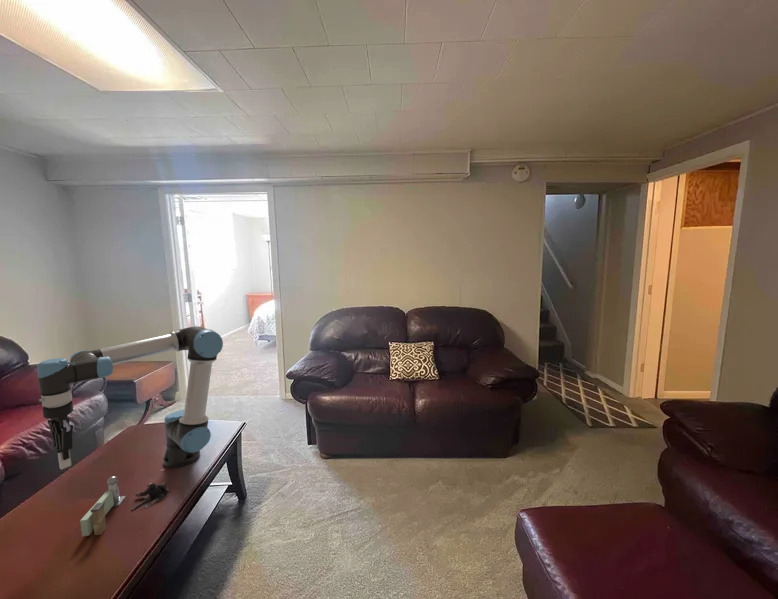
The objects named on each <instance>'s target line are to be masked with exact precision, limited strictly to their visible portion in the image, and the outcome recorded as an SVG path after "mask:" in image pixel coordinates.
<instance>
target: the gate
mask: <svg viewBox="0 0 778 599" xmlns="http://www.w3.org/2000/svg"><path fill="white" fill-rule="evenodd" d="M102 502H105V505H104V511H105V516H106V515H107V514H108V513H109V511H110V510H111V508H113V507H112V506H113V505H114V499H113V490H111V491H109V490H106V491H105V492H104V493H103V495H101V496H100V498H98V500H97V501H96V502H95V504H93V506H91V507H90V509H89V510H88V511H87V513H85V515H83V517H82V518H81V519H80V522H79V523H80V532H81V536H82V537H87V536H88V537H89V536H90V535H91V534H92V532H94V525H93V517H92V512H91V509H92V508H93V507H94V506H95V505H96V503H102Z"/></svg>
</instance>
